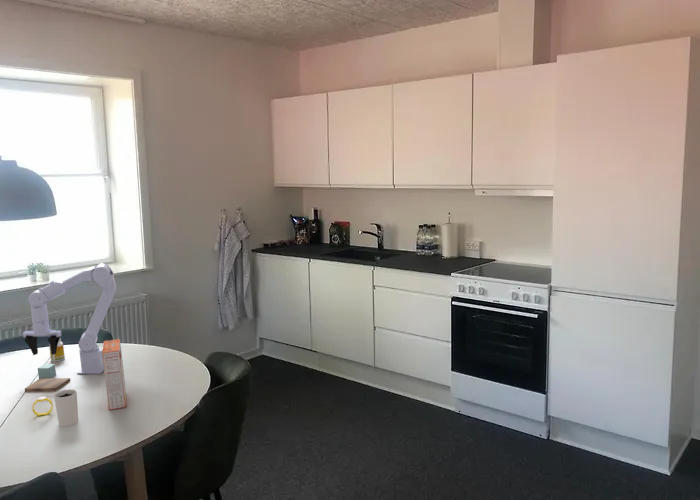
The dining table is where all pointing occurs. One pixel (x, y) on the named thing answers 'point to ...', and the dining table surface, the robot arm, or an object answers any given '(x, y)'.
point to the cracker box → (114, 374)
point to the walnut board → (47, 384)
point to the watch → (40, 401)
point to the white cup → (66, 407)
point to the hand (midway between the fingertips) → (44, 354)
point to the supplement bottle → (58, 352)
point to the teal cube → (46, 371)
